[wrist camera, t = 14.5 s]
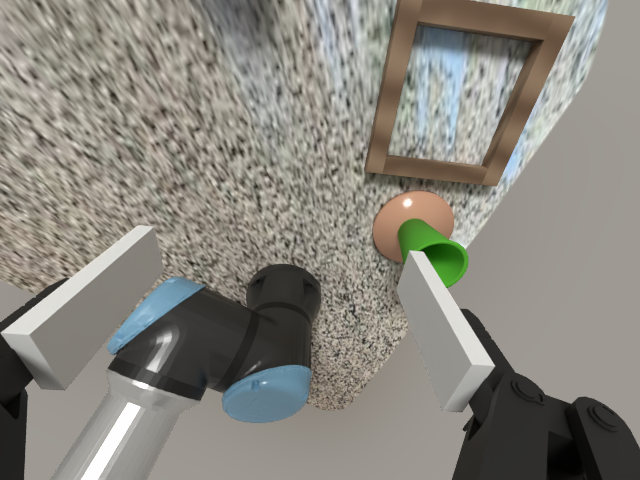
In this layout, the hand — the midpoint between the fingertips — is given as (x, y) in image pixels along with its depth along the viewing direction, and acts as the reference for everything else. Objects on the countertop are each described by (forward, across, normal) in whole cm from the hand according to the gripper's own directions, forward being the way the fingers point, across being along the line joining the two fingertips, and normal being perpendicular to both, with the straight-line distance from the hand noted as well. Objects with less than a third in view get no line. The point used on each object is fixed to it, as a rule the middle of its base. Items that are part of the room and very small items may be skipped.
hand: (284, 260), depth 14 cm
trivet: (+31, -20, +12) cm, 39 cm away
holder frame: (+31, -20, -8) cm, 38 cm away
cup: (+30, -20, +12) cm, 38 cm away
